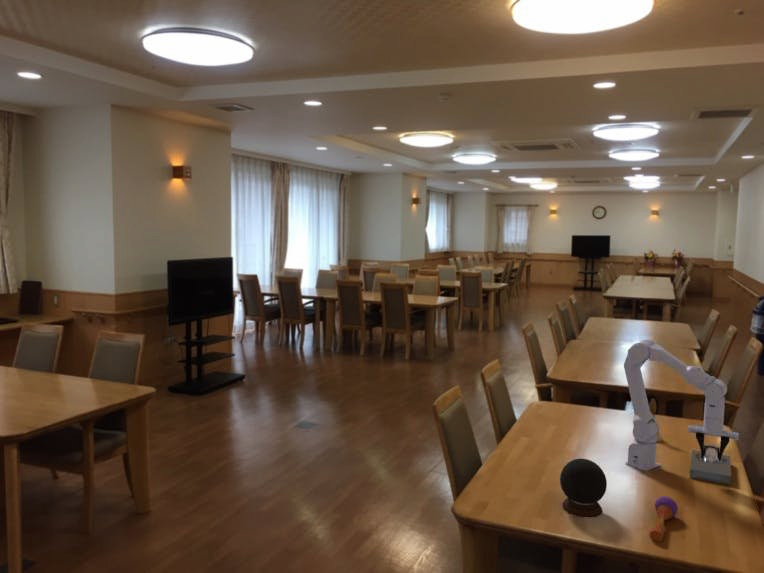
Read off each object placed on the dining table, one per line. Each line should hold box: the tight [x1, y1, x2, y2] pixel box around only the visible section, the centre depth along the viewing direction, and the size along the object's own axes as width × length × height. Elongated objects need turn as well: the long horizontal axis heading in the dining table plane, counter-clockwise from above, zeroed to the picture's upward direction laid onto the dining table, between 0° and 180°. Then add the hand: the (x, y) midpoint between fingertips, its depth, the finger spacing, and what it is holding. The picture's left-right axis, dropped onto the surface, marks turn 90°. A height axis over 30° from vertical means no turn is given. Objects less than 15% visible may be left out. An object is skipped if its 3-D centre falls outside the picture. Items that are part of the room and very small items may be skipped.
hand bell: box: [649, 398, 664, 443], centre depth 238 cm, size 8×8×16 cm
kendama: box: [649, 496, 678, 543], centre depth 167 cm, size 6×6×20 cm
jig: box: [689, 449, 732, 486], centre depth 206 cm, size 20×12×3 cm, turn 151°
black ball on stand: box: [559, 458, 608, 519], centre depth 177 cm, size 13×13×15 cm
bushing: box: [703, 443, 720, 464], centre depth 197 cm, size 4×4×5 cm
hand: (711, 456), depth 197 cm, fingers closed on bushing, 4 cm apart
